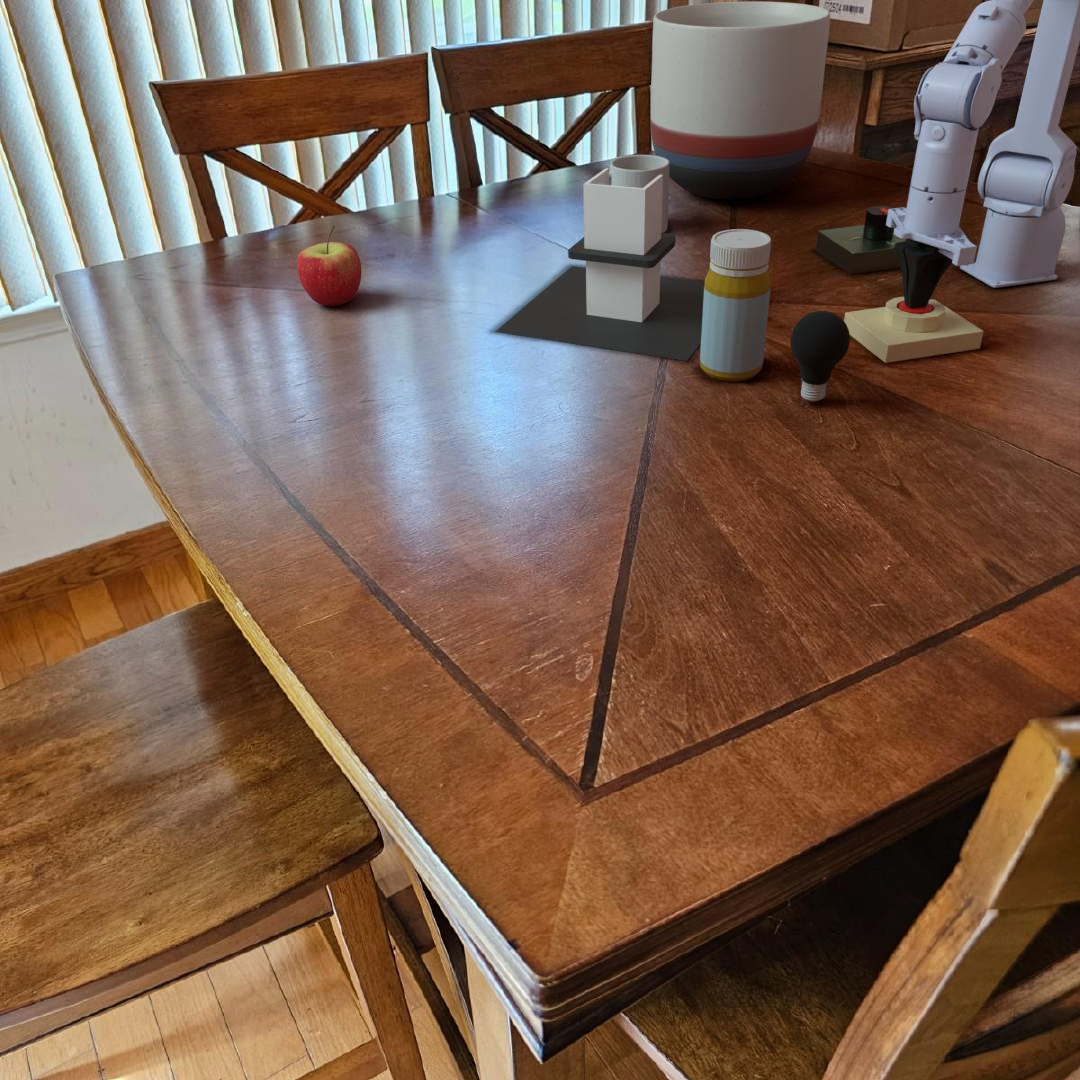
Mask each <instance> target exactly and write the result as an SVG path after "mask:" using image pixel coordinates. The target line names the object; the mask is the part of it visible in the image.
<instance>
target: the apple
mask: <svg viewBox="0 0 1080 1080" xmlns="http://www.w3.org/2000/svg"><path fill="white" fill-rule="evenodd" d="M335 227H336V225H332V227H331V229H330V231H329V233H328V237H327V241H326V242H321V243H317V244H314V245H312V246H308V247H307V248H305V249H303V250H301V251H300V252H299V254H298V255H297V262H296V266H297V267H296V269H297V276H298V278H299V281H300V283H301V286H302V287H303V290H304V291H305V292H306V294H307V295H308V296H309V298H311V299H312V301H314V302H316V303H317V304H318V305H322V306H327V307H338V306H342V305H345V304H347V303H348V302H350V301H351V300H353V298H355V296H356V295H357V293H358V291H359V288H360V285H361V282H362V263H361V259H360V256H359V253H358V251H357V250H356V248H355V247H354V246H353V245H351V244H350V243H347V242H341V241H340V242H339V241H330V238H331V236H332V233H333V232H334V229H335Z"/></svg>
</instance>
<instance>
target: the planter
mask: <svg viewBox="0 0 1080 1080" xmlns="http://www.w3.org/2000/svg"><path fill="white" fill-rule="evenodd" d="M652 22H653V24H652V42H651V43H652V45H651V46H652V49H651V52H652V53H651V82H650V83H651V85H650V122H649V123H650V136H651V137H650V138H651V142H652V147H653V151H654V156H659V157H663V158H666V159H667V160H668V161H669V163H670V166H669V179H671V180H672V181H673V182H674V183H675V184H677V185H678V186H679V187H681V188H682V189H683V190H686V191H688V192H689V193H691V194H694V195H696V196H699V197H703V198H708V199H713V200H722V201H737V200H746V199H752V198H756V197H760V196H762V195H766V194H768V193H770V192H772V191H774V190H776V189H777V188H780V187H781V186H782V185H784V184H785V183H787V182H788V181H789V180H790V179H792V177H794V175H796V174H797V173H798V172H799V171H800V169H801V168H802V167H803V165H805V163H806V161H807V159H808V157H809V155H810V154H811V151H812V148H813V146H814V144H815V143H814V142H815V139H816V136H817V132H818V126H819V120H820V112H821V105H822V97H823V88H824V80H825V71H826V69H825V68H826V62H827V61H826V59H827V51H828V43H829V37H830V36H829V35H830V25H831V24H830V23H831V12H830V11H829V10H828V9H826V8H824V7H821V6H817V5H812V4H807V3H797V2H785V1H722V2H720V1H719V2H706V3H697V4H688V5H680V6H675V7H670V8H667V9H663V10H660V11H658V12H657V13H655V14H654V15H653V21H652Z"/></svg>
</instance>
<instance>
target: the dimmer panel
mask: <svg viewBox="0 0 1080 1080" xmlns="http://www.w3.org/2000/svg"><path fill="white" fill-rule="evenodd" d="M864 225H865V224H861V225H853V226H846V227H836V228H830V229H829V228H828V229H821V230H818V231H817V239H816V247H815V252H816V253H817V254H819V255H821V257H823V258H825V259H826V260H827V261H829V262H830V263H832V264H834V265H835V266H836V267H838V268H839V269H841V270H842V271H843V272H845V273H846V274H848V275H849V276H850V275H859V274H865V273H866V274H867V273H873V272H881V271H888V270H896V269H901V267H900V263H899V260H898V257H897V254H896V252H895V250H894V247H895V244H896V243H898V242H904V241H906V239H901V238H899V237H897V236H895V235H894V234H893V237H892V238H891V239H888V240H872V239H868V238H865V237H864V236H863V232H864ZM895 228H896V227H895ZM895 228H894V229H895Z"/></svg>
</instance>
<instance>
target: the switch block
mask: <svg viewBox="0 0 1080 1080" xmlns="http://www.w3.org/2000/svg"><path fill="white" fill-rule="evenodd" d="M902 301H904V296H899V297H893V298H891V299H889V300H887V301H886V302H885V306H880V307H873V308H868V309H867V308H866V309H860V310H854V311H846V312H845V313H844V318H843V321H844V322H845V323H846V325H847V327H848V330H849V333H850V337H852V338H853V339H854V340H856V341H857V342H858V343H859V344H860V345H862V346H863V347H864V348H866V349H867V350H868V351H869V352H871V353H872V354H873V355H874V356H876V357H877V358H878V359H879V360H881V361H882V362H883V363H885V364H888V363H894V362H901V361H907V360H914V359H915V360H916V359H920V358H927V357H933V356H940V355H946V354H953V353H959V352H966V351H973V350H979V349H980V348H981V345H982V344H981V343H982V340H983V336H984V330H983V329H981V328H979V327H978V326H977V325H975V324H974V323H972V322H970V321H969V320H967V319H966V318H964V317H963V316H961V315H960V314H958V313H956V312H955V311H953V310H952V309H951V308H949V307H947V306H945V305H944V304H942V303H941V302H939V301H938V300H936V299H931V298H930V300H929V302H928V303H929V304H931V306H932V310H931V312H930V313H925V314H911V313H908V312H904V311H901V310H900V309H899V304H900V303H901V302H902Z"/></svg>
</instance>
